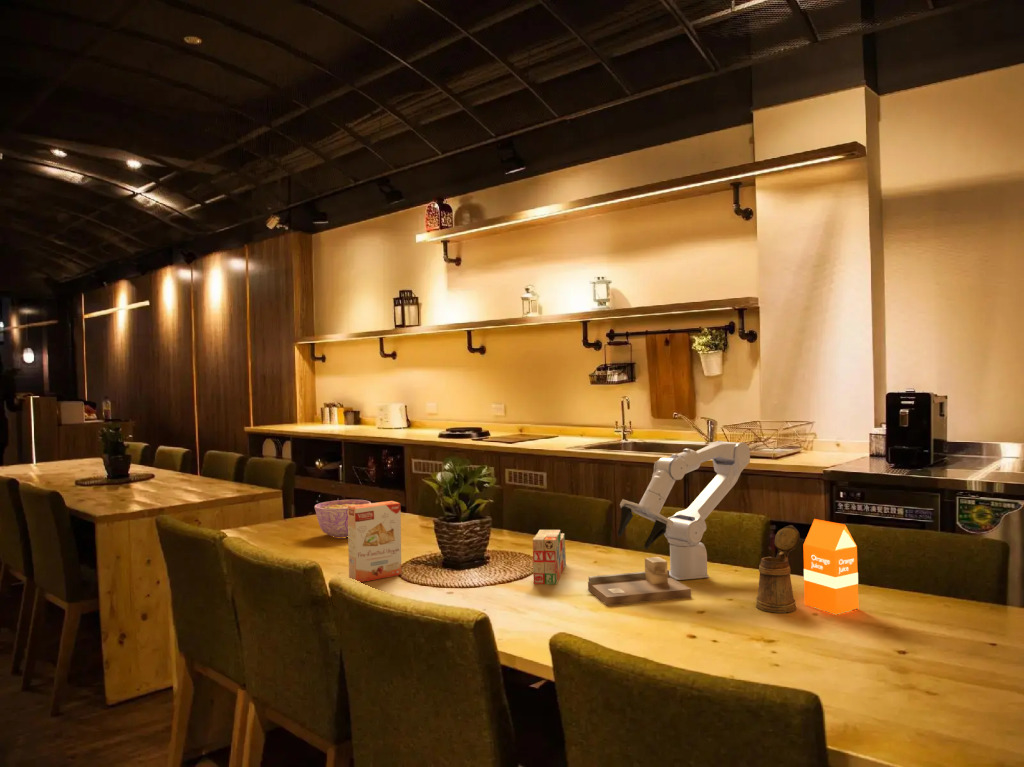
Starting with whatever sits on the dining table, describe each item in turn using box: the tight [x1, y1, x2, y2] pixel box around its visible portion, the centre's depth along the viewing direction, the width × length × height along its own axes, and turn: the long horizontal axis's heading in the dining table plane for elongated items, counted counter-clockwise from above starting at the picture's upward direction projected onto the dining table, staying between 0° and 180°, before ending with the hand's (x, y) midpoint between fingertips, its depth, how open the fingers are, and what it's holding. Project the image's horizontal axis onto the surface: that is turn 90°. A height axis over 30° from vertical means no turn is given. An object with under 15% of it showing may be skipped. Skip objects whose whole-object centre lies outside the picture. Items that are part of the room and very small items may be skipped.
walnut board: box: [587, 569, 692, 606], centre depth 184 cm, size 22×14×4 cm, turn 103°
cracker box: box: [347, 500, 402, 583], centre depth 205 cm, size 14×6×21 cm, turn 125°
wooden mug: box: [755, 524, 801, 614], centre depth 172 cm, size 9×14×18 cm, turn 133°
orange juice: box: [802, 518, 859, 614], centre depth 169 cm, size 8×9×20 cm
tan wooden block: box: [644, 556, 668, 584], centre depth 187 cm, size 4×5×6 cm
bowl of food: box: [314, 499, 372, 537], centre depth 263 cm, size 20×20×12 cm
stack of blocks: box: [532, 529, 567, 585], centre depth 205 cm, size 21×6×12 cm, turn 169°
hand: (632, 541), depth 188 cm, fingers open, 7 cm apart
